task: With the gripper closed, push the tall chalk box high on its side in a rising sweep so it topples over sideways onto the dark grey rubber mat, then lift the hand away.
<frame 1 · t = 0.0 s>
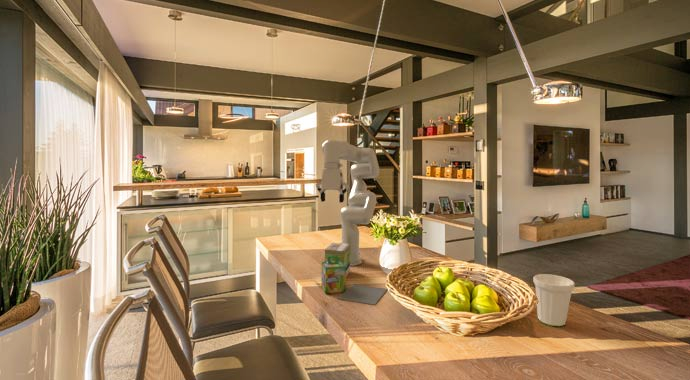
hand: (332, 201, 170), 37 cm above the table, tool pointing down, fingers open, 9 cm apart
cup: (551, 322, 125), on the table
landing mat: (363, 294, 150), on the table
tea box: (337, 275, 174), on the table
chalk box: (333, 290, 155), on the table
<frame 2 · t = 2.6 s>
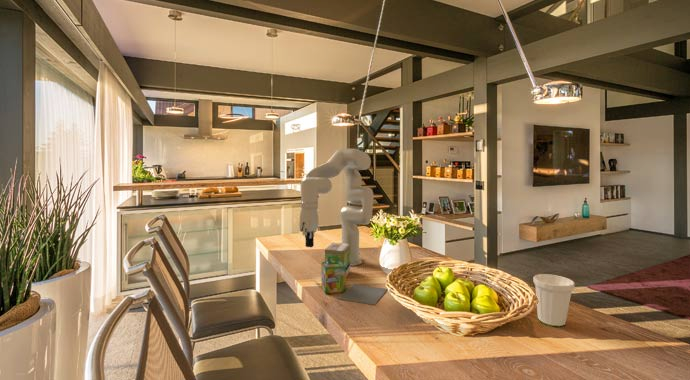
hand: (309, 246, 158), 18 cm above the table, tool pointing down, fingers closed
nothing on the table moved.
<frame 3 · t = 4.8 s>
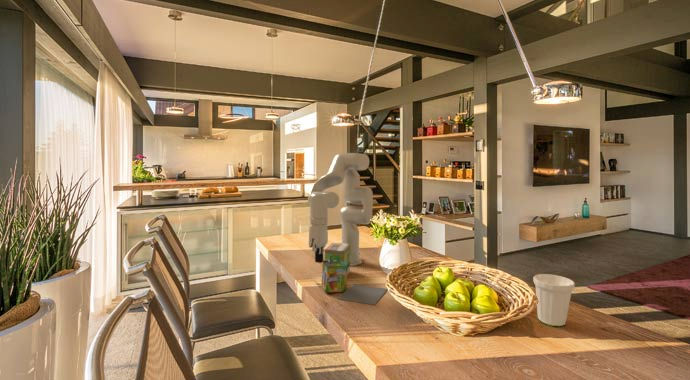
hand: (319, 262, 157), 12 cm above the table, tool pointing down, fingers closed
chalk box: (333, 289, 155), on the table, touching gripper, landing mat
everything else where it was.
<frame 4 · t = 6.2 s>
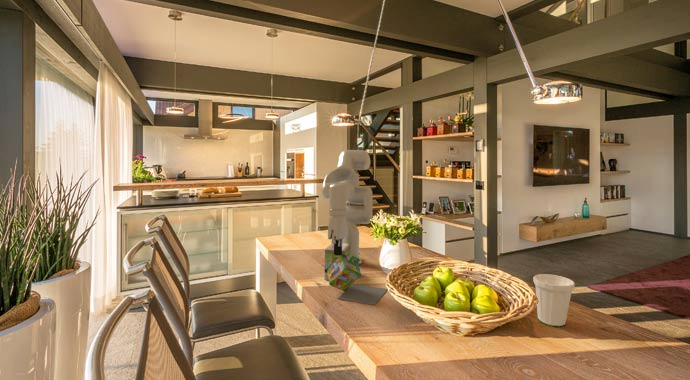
hand: (337, 254, 152), 16 cm above the table, tool pointing down, fingers closed
chalk box: (335, 281, 154), point 4 cm above the table, touching gripper, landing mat
everything else where it was.
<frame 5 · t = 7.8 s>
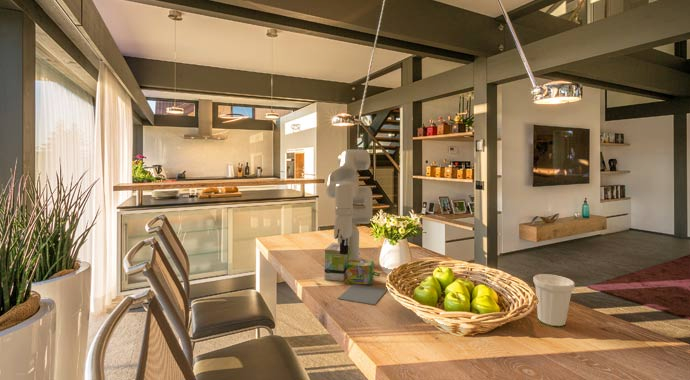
hand: (344, 253, 152), 17 cm above the table, tool pointing down, fingers closed
chalk box: (347, 271, 165), point 5 cm above the table, touching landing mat
everything else where it was.
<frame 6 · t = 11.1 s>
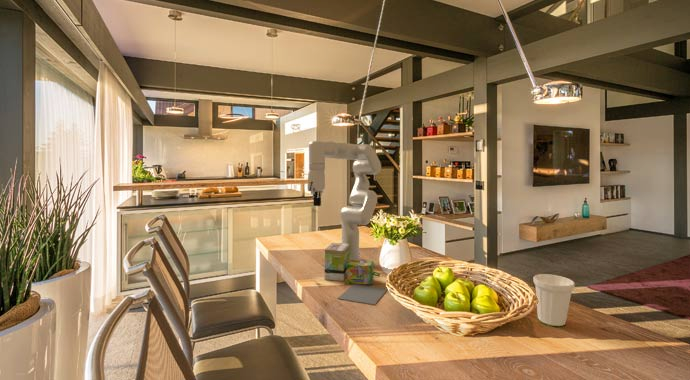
hand: (317, 205, 169), 35 cm above the table, tool pointing down, fingers closed
nothing on the table moved.
at the end: chalk box tilted 89°; chalk box touching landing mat, table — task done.
